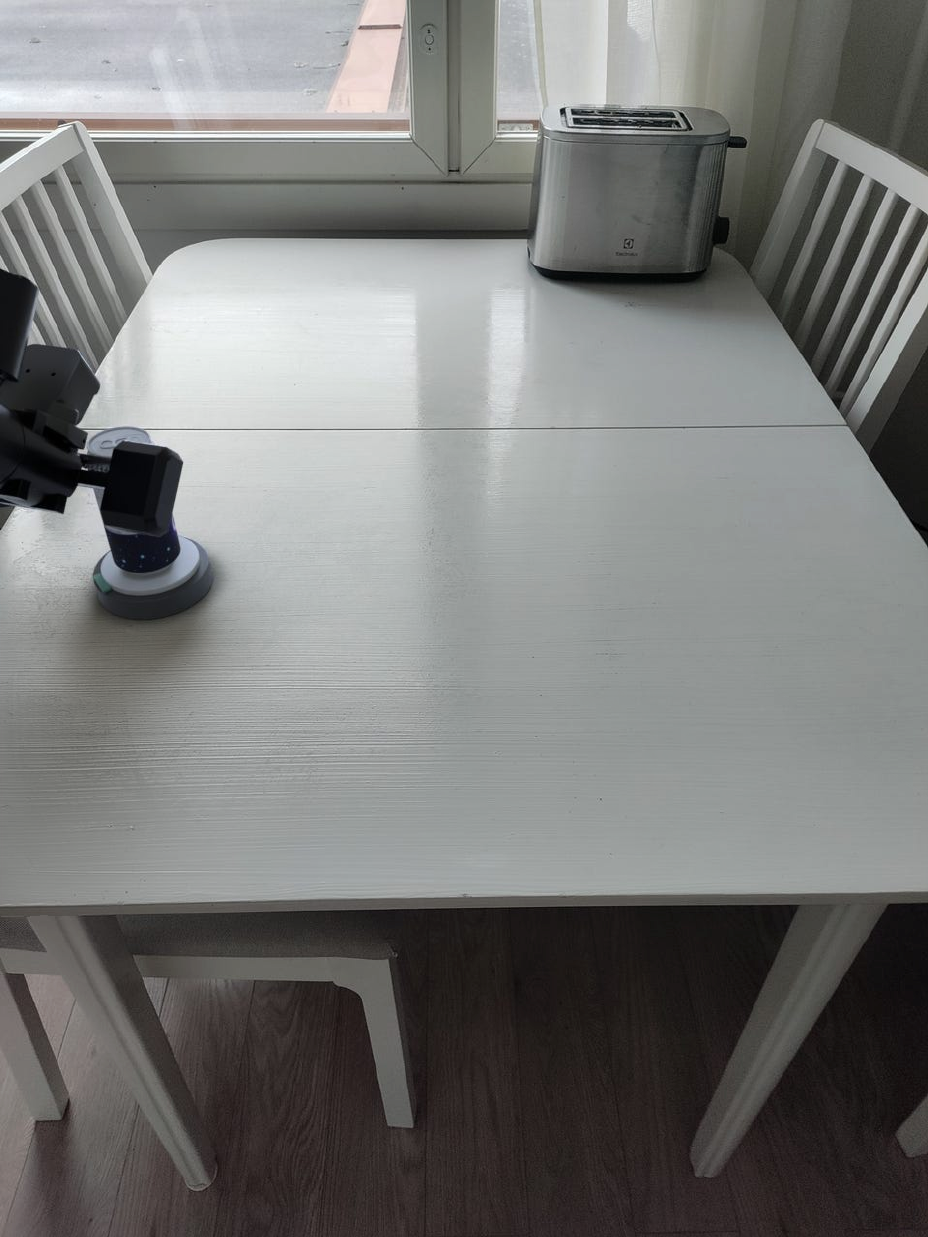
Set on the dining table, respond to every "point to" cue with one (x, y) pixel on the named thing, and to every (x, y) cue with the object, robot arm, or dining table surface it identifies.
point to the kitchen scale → (155, 584)
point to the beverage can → (127, 547)
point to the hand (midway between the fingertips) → (114, 500)
